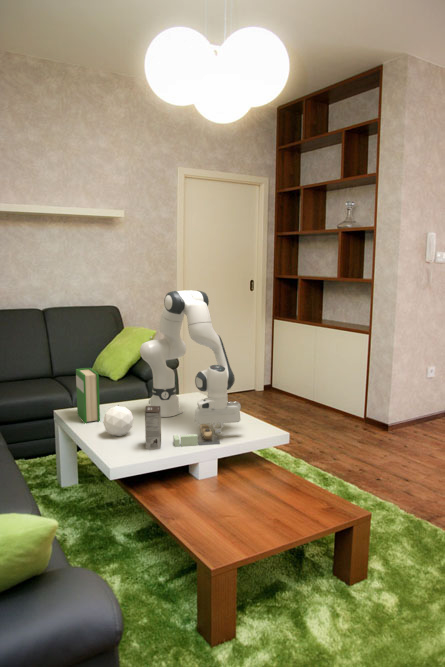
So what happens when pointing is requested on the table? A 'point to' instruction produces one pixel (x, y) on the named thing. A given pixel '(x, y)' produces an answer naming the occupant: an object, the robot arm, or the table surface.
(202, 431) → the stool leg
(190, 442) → the seat bracket
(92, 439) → the table surface
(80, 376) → the hardback book
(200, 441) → the pin plate
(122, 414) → the geodesic sphere
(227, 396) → the robot arm
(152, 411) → the coffee box
